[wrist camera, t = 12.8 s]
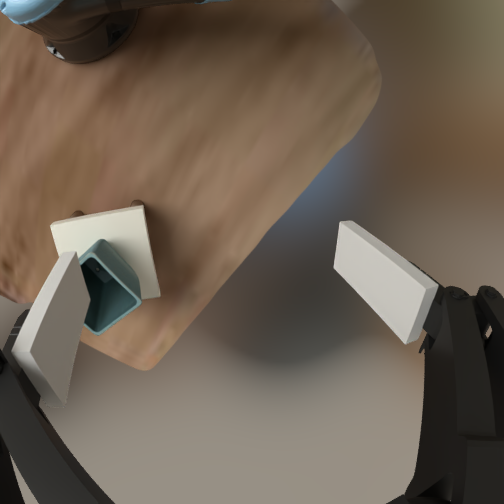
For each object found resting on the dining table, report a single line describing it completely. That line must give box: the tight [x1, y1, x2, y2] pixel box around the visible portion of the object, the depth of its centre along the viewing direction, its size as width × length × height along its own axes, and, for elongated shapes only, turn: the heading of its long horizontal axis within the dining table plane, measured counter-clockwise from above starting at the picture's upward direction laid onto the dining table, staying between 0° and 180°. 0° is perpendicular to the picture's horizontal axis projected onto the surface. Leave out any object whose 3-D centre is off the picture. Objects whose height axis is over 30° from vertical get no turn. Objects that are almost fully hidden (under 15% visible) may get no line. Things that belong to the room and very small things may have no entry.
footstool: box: [50, 200, 160, 300], centre depth 42 cm, size 14×14×8 cm
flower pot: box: [78, 239, 142, 336], centre depth 35 cm, size 9×9×9 cm
